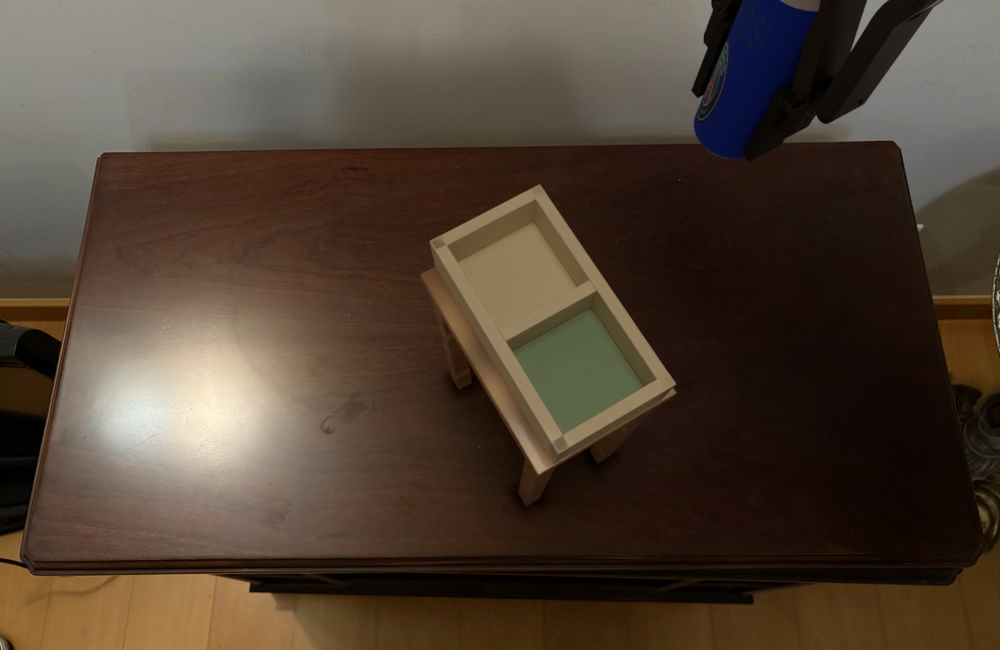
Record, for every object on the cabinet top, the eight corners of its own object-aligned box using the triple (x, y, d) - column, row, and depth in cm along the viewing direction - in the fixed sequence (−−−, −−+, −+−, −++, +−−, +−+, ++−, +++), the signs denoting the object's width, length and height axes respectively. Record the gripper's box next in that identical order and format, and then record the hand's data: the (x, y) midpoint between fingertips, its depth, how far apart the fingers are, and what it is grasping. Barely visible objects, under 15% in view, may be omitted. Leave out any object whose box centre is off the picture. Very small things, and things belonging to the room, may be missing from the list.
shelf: (614, 456, 68) (677, 392, 44) (525, 510, 67) (538, 475, 42) (533, 329, 72) (550, 205, 48) (448, 376, 71) (419, 274, 46)
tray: (661, 400, 43) (676, 384, 40) (553, 464, 42) (558, 454, 38) (537, 214, 48) (539, 183, 44) (435, 267, 46) (429, 240, 43)
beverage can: (710, 90, 51) (789, -96, 37) (776, 121, 50) (884, -58, 36) (678, 143, 50) (749, -30, 35) (746, 176, 49) (846, 11, 34)
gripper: (702, -364, 28) (616, 46, 50) (1030, -69, 23) (773, 246, 45) (849, -421, 30) (702, 4, 51) (1193, -153, 24) (865, 194, 46)
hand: (735, 116), depth 48 cm, fingers closed on beverage can, 5 cm apart
